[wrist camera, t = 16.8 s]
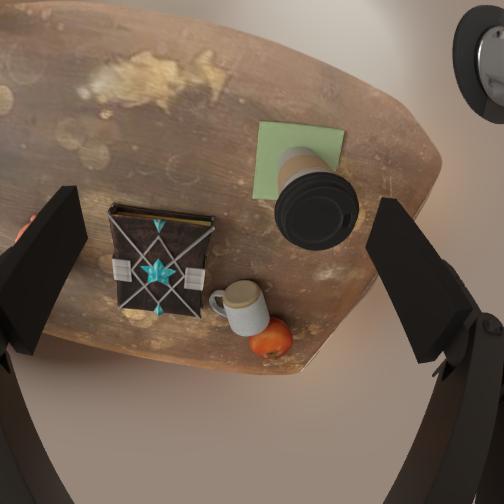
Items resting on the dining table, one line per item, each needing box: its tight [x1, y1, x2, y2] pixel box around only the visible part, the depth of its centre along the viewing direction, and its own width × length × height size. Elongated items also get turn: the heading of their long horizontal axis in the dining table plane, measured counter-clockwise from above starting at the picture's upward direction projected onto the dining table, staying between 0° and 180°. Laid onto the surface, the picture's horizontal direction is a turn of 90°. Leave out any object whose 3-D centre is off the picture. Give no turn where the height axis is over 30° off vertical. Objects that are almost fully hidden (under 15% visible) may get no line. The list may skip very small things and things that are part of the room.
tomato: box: [249, 317, 293, 359], centre depth 64 cm, size 9×9×8 cm
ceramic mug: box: [209, 280, 270, 336], centre depth 58 cm, size 11×8×8 cm
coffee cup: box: [274, 147, 359, 251], centre depth 39 cm, size 9×9×15 cm
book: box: [107, 203, 215, 320], centre depth 53 cm, size 22×17×5 cm
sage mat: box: [253, 121, 344, 200], centre depth 45 cm, size 12×12×1 cm
